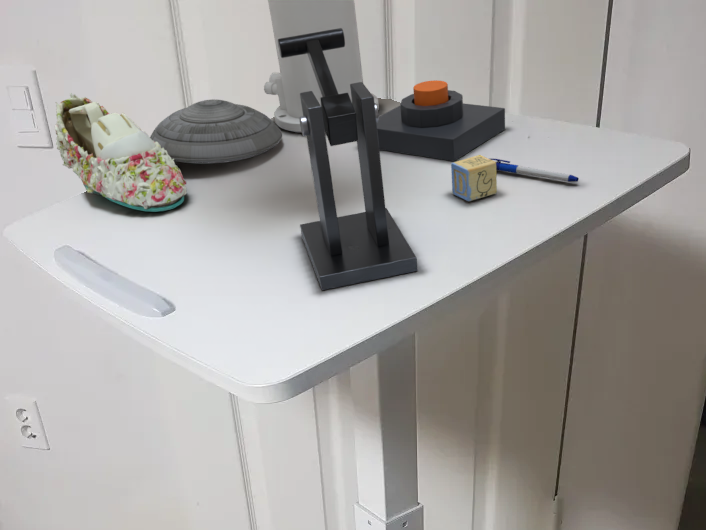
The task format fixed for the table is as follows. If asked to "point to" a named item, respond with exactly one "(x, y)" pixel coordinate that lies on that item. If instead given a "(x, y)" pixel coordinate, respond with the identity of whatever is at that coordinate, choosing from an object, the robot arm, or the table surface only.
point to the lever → (325, 82)
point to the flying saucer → (216, 133)
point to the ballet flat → (116, 157)
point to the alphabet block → (474, 178)
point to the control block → (438, 127)
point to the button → (430, 93)
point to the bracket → (356, 229)
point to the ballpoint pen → (533, 171)
